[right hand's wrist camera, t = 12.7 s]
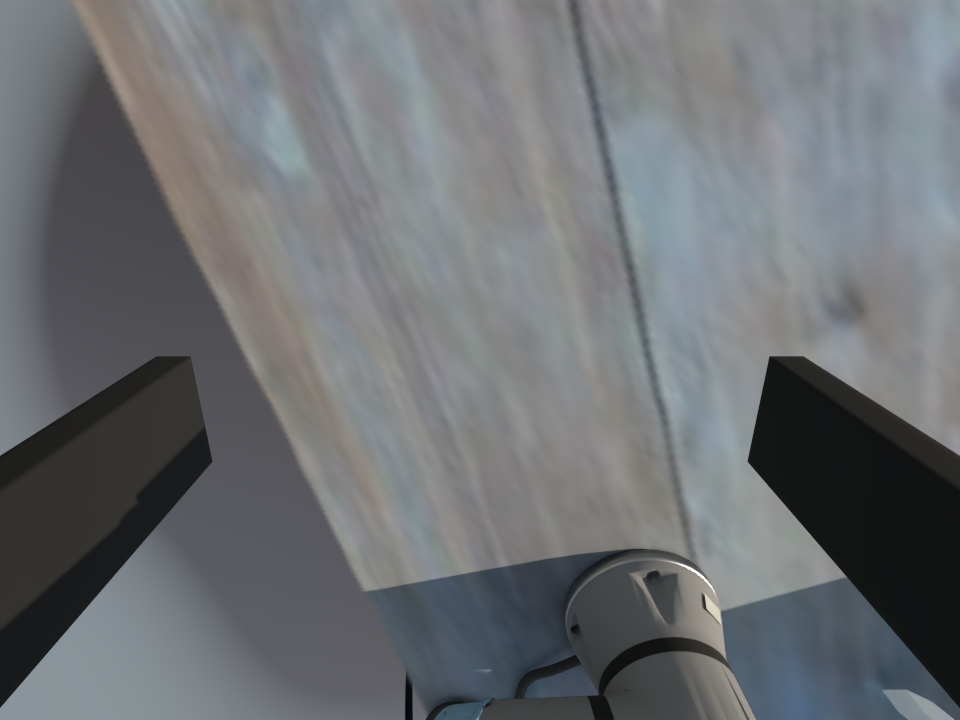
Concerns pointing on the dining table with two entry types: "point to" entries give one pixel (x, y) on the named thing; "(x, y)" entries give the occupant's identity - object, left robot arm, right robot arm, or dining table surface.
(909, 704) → the white plastic object
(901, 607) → the right robot arm
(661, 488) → the dining table surface
